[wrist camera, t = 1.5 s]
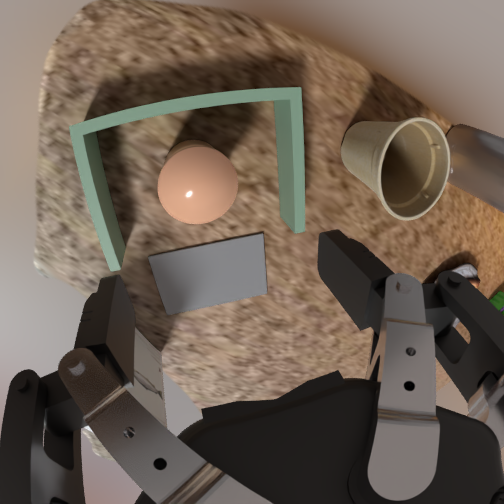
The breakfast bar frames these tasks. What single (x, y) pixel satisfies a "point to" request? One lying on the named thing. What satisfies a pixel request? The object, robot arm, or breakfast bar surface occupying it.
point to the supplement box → (148, 378)
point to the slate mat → (210, 273)
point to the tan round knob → (197, 182)
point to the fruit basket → (498, 301)
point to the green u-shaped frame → (284, 107)
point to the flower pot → (399, 163)
